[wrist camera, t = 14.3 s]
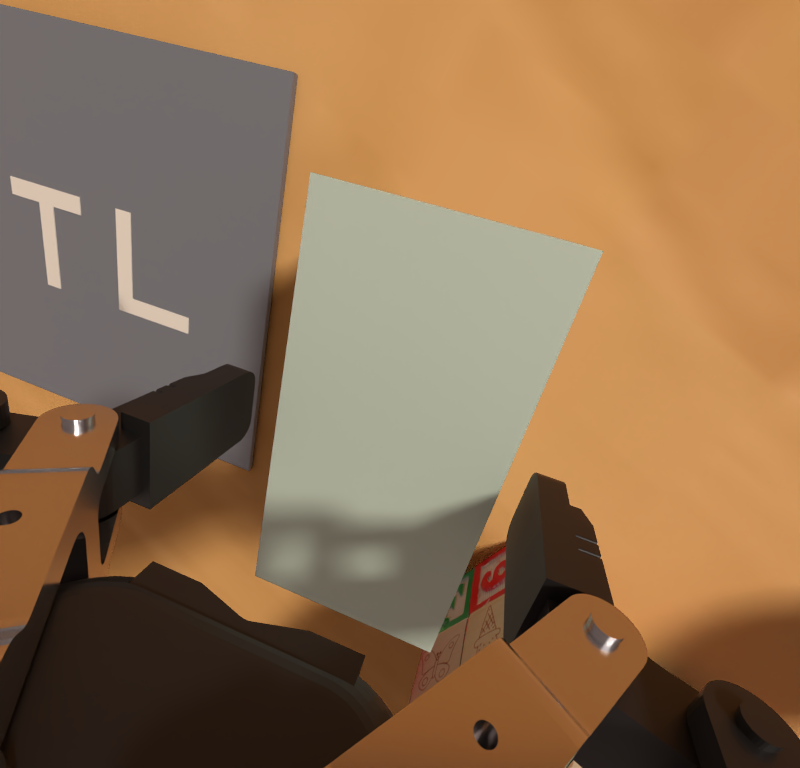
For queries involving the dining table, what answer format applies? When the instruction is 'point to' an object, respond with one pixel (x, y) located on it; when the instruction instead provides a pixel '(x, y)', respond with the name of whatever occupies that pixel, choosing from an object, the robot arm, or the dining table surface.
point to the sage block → (405, 397)
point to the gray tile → (135, 210)
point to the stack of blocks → (467, 624)
